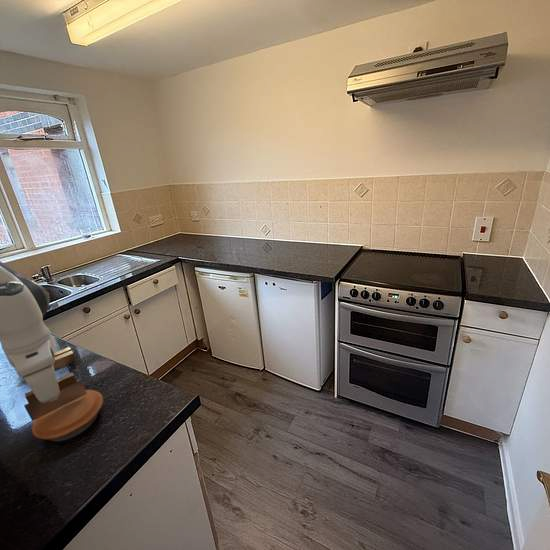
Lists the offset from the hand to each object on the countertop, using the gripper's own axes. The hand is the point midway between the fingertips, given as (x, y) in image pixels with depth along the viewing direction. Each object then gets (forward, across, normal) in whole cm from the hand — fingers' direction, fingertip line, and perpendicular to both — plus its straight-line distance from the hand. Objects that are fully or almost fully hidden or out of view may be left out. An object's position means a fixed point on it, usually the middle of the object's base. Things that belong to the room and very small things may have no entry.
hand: (53, 395), depth 74 cm
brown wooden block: (+4, 0, 0) cm, 4 cm away
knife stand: (+9, -31, 0) cm, 32 cm away
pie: (+9, +2, +2) cm, 10 cm away
